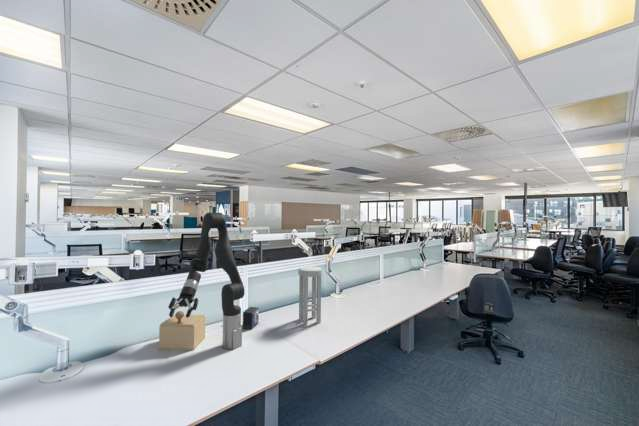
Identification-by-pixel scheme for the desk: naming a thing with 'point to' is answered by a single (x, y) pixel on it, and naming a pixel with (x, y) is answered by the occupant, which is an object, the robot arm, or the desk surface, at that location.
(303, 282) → the stool
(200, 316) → the lid flap
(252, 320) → the small box
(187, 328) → the carton
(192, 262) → the robot arm
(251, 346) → the desk surface
